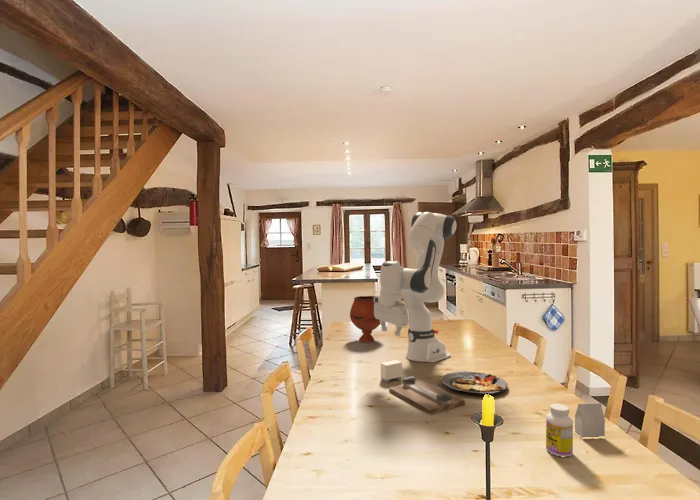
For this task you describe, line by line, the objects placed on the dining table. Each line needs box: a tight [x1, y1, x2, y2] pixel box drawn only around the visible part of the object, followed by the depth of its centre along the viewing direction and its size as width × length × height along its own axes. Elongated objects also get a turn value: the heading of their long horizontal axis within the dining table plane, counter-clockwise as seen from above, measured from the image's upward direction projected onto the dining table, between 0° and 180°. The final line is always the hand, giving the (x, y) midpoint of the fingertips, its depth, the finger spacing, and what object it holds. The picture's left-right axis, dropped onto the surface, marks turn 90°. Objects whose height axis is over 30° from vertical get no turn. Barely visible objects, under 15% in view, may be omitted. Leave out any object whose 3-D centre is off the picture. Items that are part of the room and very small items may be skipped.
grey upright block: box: [574, 402, 606, 438], centre depth 124 cm, size 4×7×10 cm, turn 92°
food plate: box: [441, 370, 508, 395], centre depth 166 cm, size 25×23×4 cm
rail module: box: [380, 359, 403, 384], centre depth 174 cm, size 8×4×7 cm, turn 119°
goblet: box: [349, 295, 381, 343], centre depth 238 cm, size 19×19×25 cm
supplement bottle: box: [545, 403, 574, 458], centre depth 115 cm, size 7×7×13 cm
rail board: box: [388, 375, 466, 415], centre depth 155 cm, size 16×24×4 cm, turn 29°
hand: (390, 333), depth 173 cm, fingers open, 8 cm apart
